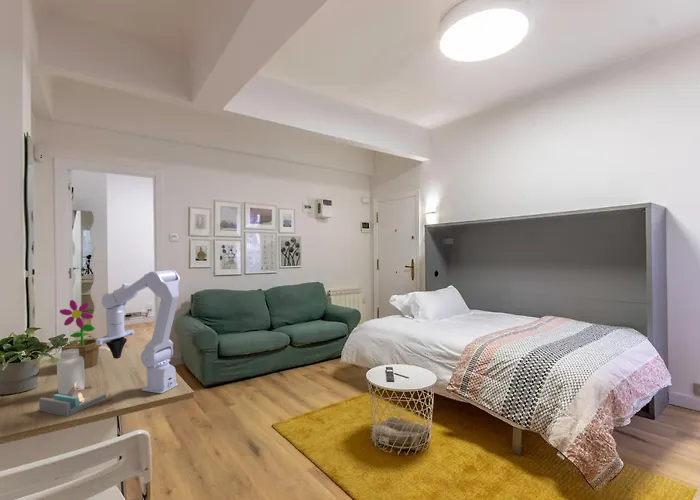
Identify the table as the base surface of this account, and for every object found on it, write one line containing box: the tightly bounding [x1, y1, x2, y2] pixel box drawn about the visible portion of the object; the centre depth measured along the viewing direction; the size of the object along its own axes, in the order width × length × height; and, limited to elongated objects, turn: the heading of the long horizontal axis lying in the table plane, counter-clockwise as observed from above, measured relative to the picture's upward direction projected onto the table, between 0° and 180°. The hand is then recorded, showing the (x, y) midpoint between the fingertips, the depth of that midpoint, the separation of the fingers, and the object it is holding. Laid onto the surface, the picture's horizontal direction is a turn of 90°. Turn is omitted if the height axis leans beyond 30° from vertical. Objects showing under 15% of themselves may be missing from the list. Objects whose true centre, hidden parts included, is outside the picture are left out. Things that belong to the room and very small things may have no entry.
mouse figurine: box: [66, 382, 86, 404], centre depth 122 cm, size 5×8×7 cm, turn 113°
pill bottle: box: [56, 349, 86, 396], centre depth 132 cm, size 8×8×15 cm
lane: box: [38, 391, 107, 417], centre depth 121 cm, size 13×13×4 cm
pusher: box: [52, 393, 80, 409], centre depth 119 cm, size 10×1×4 cm, turn 72°
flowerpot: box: [59, 299, 102, 370], centre depth 157 cm, size 14×14×30 cm
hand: (116, 357), depth 139 cm, fingers closed
